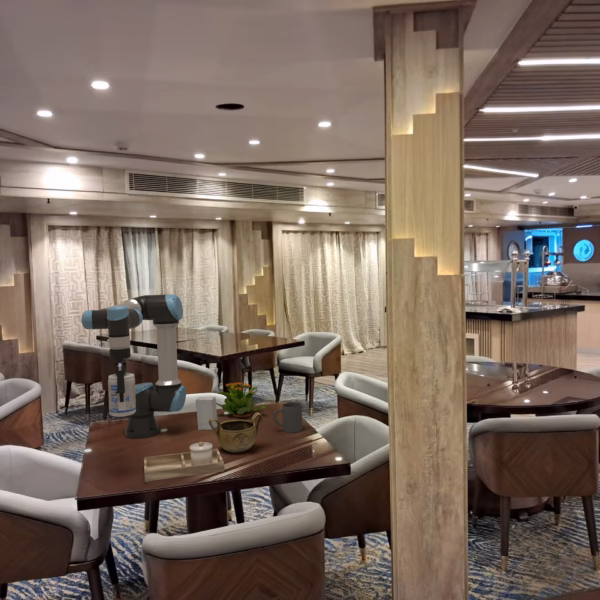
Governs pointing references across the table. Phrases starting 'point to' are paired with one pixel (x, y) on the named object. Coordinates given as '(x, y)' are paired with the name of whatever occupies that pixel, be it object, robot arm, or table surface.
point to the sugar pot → (201, 453)
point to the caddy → (179, 466)
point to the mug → (290, 417)
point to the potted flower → (239, 400)
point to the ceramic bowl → (237, 433)
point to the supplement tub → (129, 393)
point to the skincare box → (206, 412)
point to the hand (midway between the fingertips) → (122, 406)
